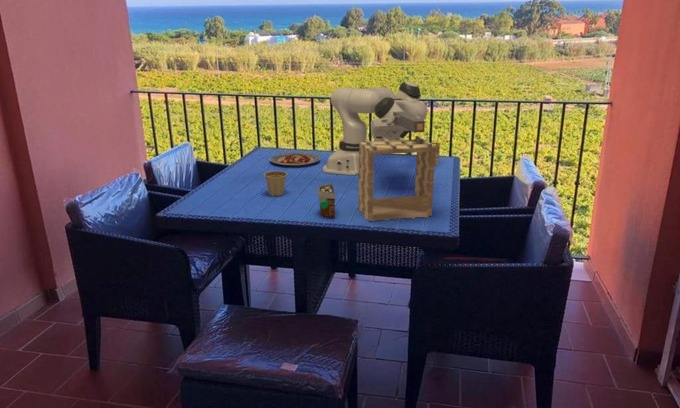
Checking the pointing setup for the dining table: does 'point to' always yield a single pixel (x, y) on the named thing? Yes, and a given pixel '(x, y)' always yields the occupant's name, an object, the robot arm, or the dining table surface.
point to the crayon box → (437, 153)
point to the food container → (327, 200)
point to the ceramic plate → (294, 159)
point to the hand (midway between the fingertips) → (401, 117)
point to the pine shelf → (397, 205)
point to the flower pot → (275, 182)
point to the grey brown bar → (409, 122)
